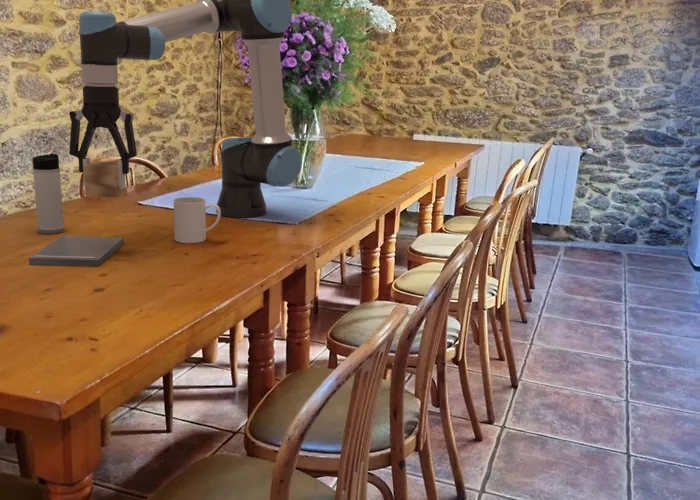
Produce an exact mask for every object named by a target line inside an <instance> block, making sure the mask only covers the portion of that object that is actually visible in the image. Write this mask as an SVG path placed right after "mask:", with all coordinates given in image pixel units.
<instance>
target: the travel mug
mask: <svg viewBox="0 0 700 500" xmlns="http://www.w3.org/2000/svg"><path fill="white" fill-rule="evenodd" d="M32 171H33V173H32V174H33V186H34V197H35V208H36V209H35V210H36V223H37V231H38V233H39V234H42V235H54V234H60V233H63V232H64V231H65V226H64V209H63V198H62V197H63V195H62V194H63V193H62V182H61V181H62V180H61V171H60V159H59V155H58V154H57V153H50V154H42V155H41V154H40V155H36V156H33V158H32Z"/></svg>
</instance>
